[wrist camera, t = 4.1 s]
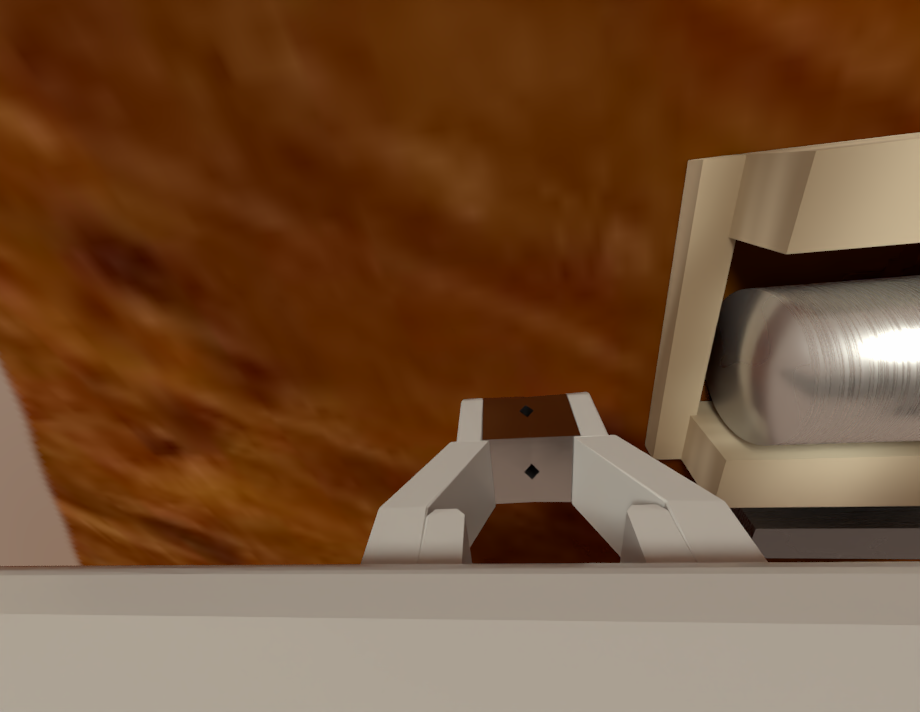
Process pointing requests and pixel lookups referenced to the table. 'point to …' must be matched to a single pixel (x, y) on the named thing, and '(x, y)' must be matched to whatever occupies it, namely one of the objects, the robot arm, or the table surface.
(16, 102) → the table surface
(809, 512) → the dark blocks
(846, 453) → the beige u-shaped bracket
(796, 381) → the axle
